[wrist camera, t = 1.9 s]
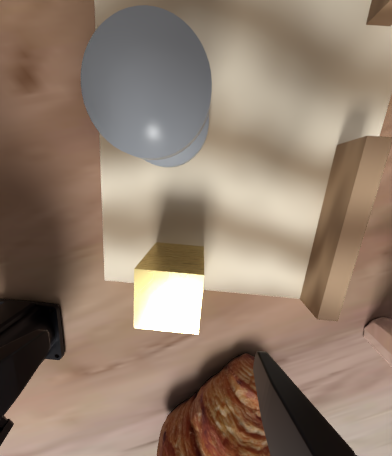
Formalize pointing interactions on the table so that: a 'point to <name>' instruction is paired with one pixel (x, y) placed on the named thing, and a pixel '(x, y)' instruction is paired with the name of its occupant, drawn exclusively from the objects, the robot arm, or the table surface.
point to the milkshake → (380, 337)
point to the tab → (169, 288)
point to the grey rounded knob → (148, 85)
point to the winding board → (266, 150)
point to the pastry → (218, 417)
